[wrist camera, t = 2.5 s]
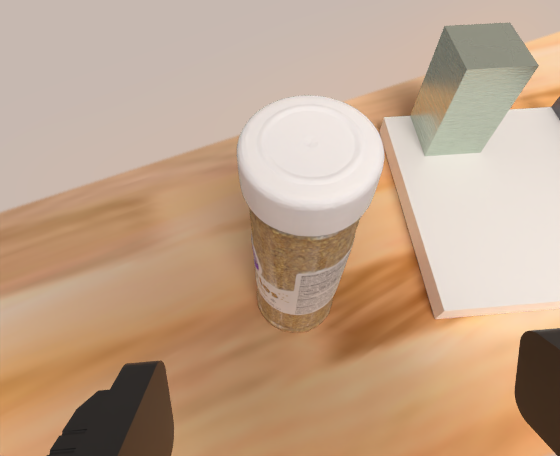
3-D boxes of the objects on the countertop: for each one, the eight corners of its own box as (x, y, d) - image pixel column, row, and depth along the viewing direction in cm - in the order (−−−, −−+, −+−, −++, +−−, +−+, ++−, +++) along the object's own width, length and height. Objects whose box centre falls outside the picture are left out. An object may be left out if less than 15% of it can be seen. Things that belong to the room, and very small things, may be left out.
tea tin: (424, 156, 27) (467, 69, 21) (410, 115, 29) (444, 26, 23) (480, 152, 27) (538, 65, 21) (461, 112, 29) (509, 22, 23)
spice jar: (246, 279, 24) (214, 112, 12) (312, 253, 24) (341, 74, 13) (275, 349, 21) (271, 226, 10) (347, 316, 22) (419, 171, 11)
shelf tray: (434, 319, 22) (456, 300, 20) (379, 131, 30) (389, 99, 27) (665, 299, 23) (718, 278, 20) (553, 121, 30) (580, 87, 28)
